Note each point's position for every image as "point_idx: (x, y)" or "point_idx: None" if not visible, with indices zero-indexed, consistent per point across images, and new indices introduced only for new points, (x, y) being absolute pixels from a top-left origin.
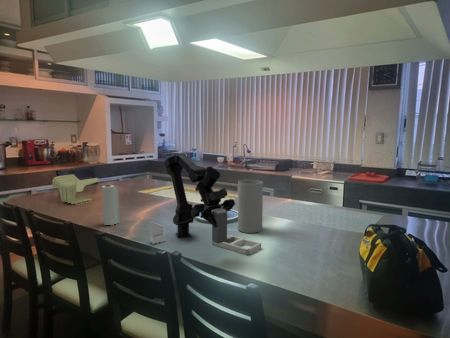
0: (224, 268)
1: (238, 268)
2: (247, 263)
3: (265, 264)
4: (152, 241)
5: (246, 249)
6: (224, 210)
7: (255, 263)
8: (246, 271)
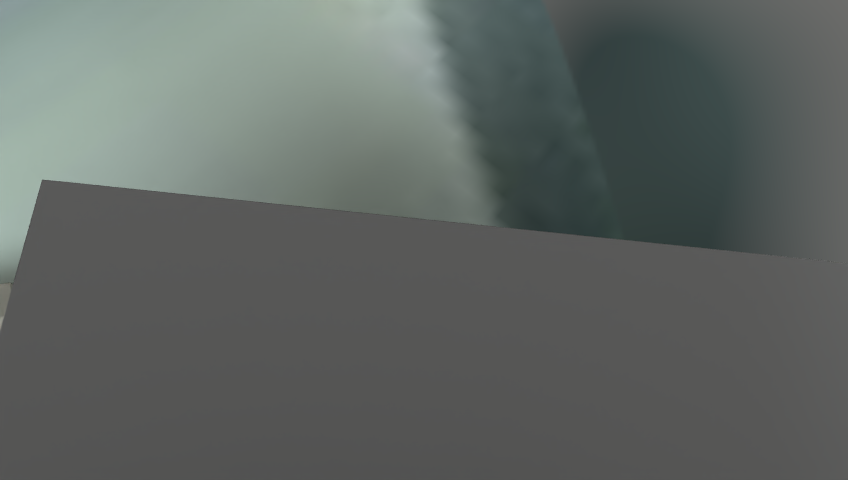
0: (481, 220)
1: (374, 136)
2: (223, 155)
3: (105, 30)
4: None
5: (1, 314)
6: (227, 219)
7: (160, 104)
8: (359, 53)
